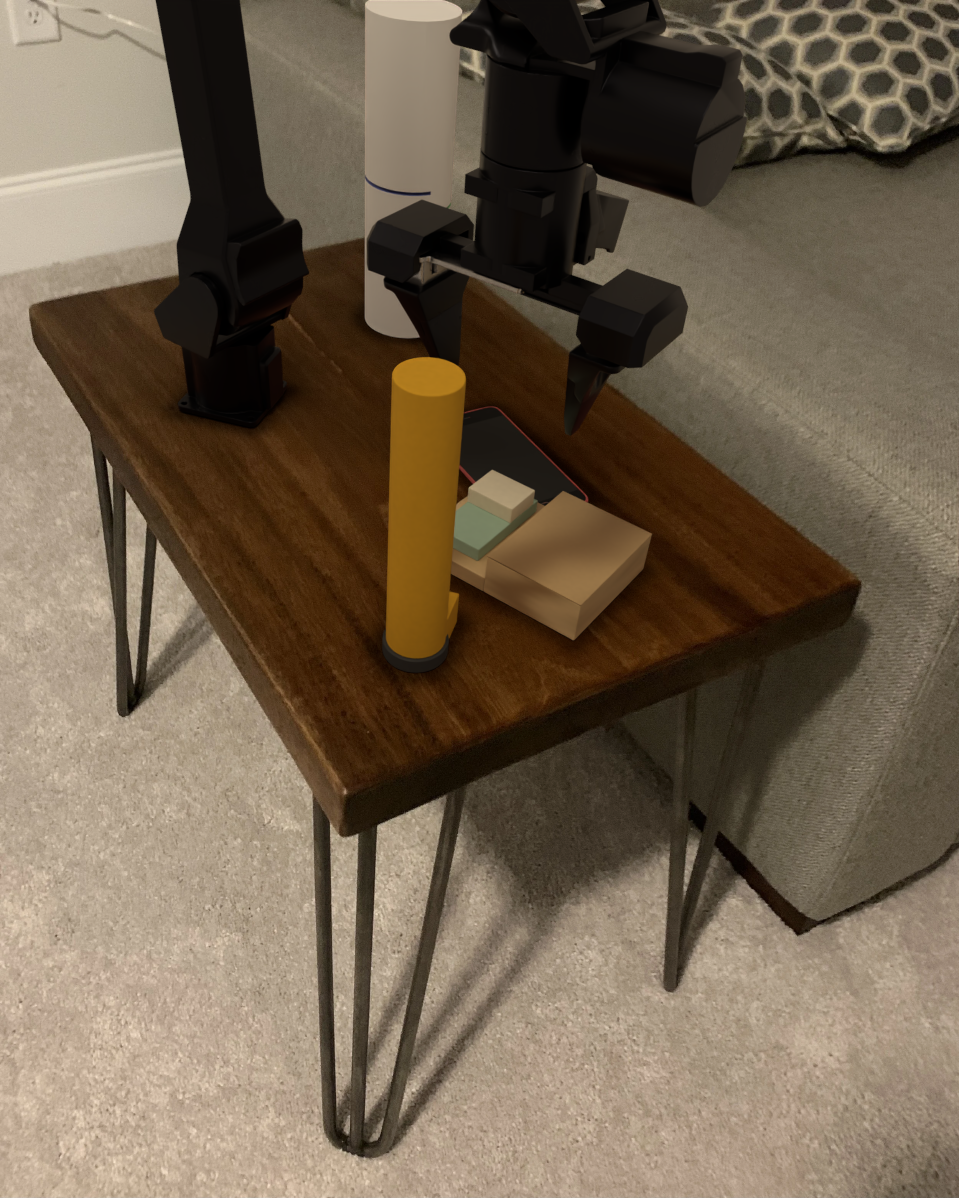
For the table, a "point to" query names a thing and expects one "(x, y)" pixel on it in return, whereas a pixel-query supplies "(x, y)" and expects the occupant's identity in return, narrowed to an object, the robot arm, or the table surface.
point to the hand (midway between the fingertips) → (509, 406)
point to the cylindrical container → (406, 125)
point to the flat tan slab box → (559, 563)
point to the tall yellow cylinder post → (422, 511)
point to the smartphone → (510, 455)
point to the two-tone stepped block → (491, 513)
